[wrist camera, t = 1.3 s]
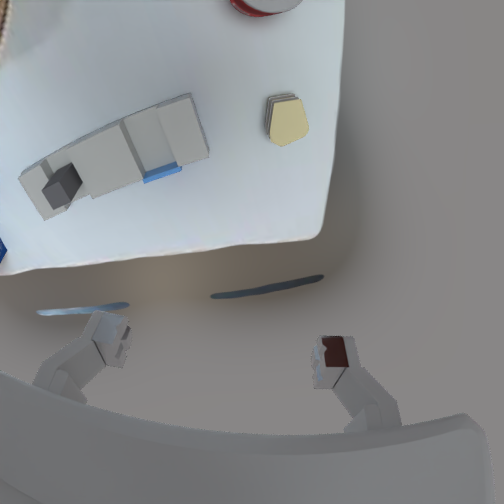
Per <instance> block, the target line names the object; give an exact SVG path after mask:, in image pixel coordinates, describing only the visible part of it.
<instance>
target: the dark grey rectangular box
mask: <svg viewBox="0 0 504 504" xmlns="http://www.w3.org/2000/svg"><path fill="white" fill-rule="evenodd" d="M82 183H83V181H82V180H81V178H80V176H79V174H78V172H77V170H76V169H75V167H74V165H73V163H72V162H71V163H69V164H67V165H65V166H64V167H62V168H60V169H58V170H57V171H56V172H55V173H54V175H53V176H52V177H51V178H50V180H49V181H48V182H47V184H46V185H45V186H44V188H43V189H42V190H41V191H42V193H43V194H44V196H45V198H46V199H47V201H48V202H49V204H50V206H51V207H52V209H53V210H55V209H57V208H59V207H61V206H63V205H65V204H68V203H70V202H71V201H72V200H73V198H74V196H75V194H76V193H77V191H78V189H79V188H80V186H81V185H82Z"/></svg>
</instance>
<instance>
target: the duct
mask: <svg viewBox="0 0 504 504" xmlns="http://www.w3.org/2000/svg"><path fill="white" fill-rule="evenodd" d="M205 158H209V147H208V144H207V141H206V138H205V135H204V132H203V129H202V126H201V123H200V120H199V117H198V114H197V111H196V108H195V105H194V102H193V99H192V96H191V93H188V94H185V95H182V96H179V97H176V98H173V99H171V100H168V101H165V102H162V103H159V104H157V105H154V106H151V107H149V108H146V109H144V110H141V111H139V112H136V113H134V114H131V115H129V116H127V117H124V118H122V119H120V120H117V121H115V122H113V123H111V124H108V125H106V126H104V127H102V128H100V129H98V130H96V131H94V132H92V133H90V134H87V135H85V136H84V137H82V138H80V139H78V140H76V141H74V142H72V143H70V144H68V145H66V146H64V147H63V148H61V149H59V150H57V151H55V152H54V153H52V154H50V155H48V156H47V157H45V158H43V159H42V160H40V161H38V162H37V163H35V164H33V165H32V166H30V167H29V168H27V169H26V170H24V171H23V172H22V173H21V175H20V177H19V178H18V180H19V181H20V183H21V185H22V186H23V188H24V190H25V191H26V193H27V195H28V196H29V198H30V199H31V201H32V202H33V204H34V206H35V207H36V209H37V210H38V212H39V213H40V215H41V216H42V218H43V219H44V221H45V220H47V219H49V218H52V217H54V216H56V215H58V214H60V213H62V212H64V211H67V209H68V207H69V206H70V204H71V202H74V201H76V200H78V199H80V198H83V197H85V196H87V195H89V194H90V195H91V197H92V199H94V198H96V197H99V196H101V195H104V194H106V193H109V192H111V191H114V190H116V189H119V188H121V187H124V186H126V185H129V184H132V183H134V182H137V181H140V180H143V182H144V184H145V183H147V182H150V181H153V180H156V179H159V178H162V177H165V176H168V175H171V174H174V173H177V172H180V171H181V170H182V166H183V165H186V164H189V163H192V162H196V161H199V160H202V159H205ZM71 162H72V163H73V165H74V167H75V169H76V170H77V172H78V174H79V176H80V178H81V180H82V181H83V183H82V185H81V186H80V188H79V189H78V191H77V193H76V194H75V196H74V198H73V200H72V201H71V202H70V203H68V204H65V205H63V206H61V207H59V208H57V209H55V210H53V209H52V207H51V206H50V204H49V202H48V201H47V199H46V198H45V196H44V194H43V193H42V191H41V190H42V189H43V188H44V186H45V185H46V184H47V182H48V181H49V180H50V178H51V177H52V176H53V175H54V173H55V172H56V171H57V170H58V169H60V168H62V167H64V166H65V165H67V164H69V163H71Z"/></svg>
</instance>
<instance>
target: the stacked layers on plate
mask: <svg viewBox="0 0 504 504" xmlns="http://www.w3.org/2000/svg"><path fill="white" fill-rule="evenodd" d="M265 128H266V133H267V134H268V135H269V139H271V142H273V143H275V144H277V145H279V146H281V147H282V146H285V145H287V144H289V143H291V142H294V141H296V140H298V139H300V138H303V137H304V136H305V135H306V134H307V133H308V130H309V125H308V122H307V118H306V115H305V111H304V108H303V104H302V101H301V99H299V98H298V97H295V94H287V95H281V96H275V97H269V102H268V109H267V116H266V123H265Z"/></svg>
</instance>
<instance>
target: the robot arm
mask: <svg viewBox="0 0 504 504" xmlns="http://www.w3.org/2000/svg"><path fill="white" fill-rule="evenodd" d="M128 322H129V321H128V318H127V317H126V316H121V315H116V314H112V313H106V312H102V311H97V310H96V311H94V312H93V314H92V316H91V318H90V320H89V322H88V324H87V326H86V328H85V330H84V332H83V334H82V336H81V338H79V337H78V338H76V339H75V340H73V341H72V342H70V343H69V344H68V345H66V346H65V347H63V348H62V349H60V350H59V351H58V352H56V353H55V354H53V355H52V356H51V357H49V358H48V359H46V360H45V361H43V362H42V364H41V366H40V368H39V370H38V372H37V374H36V377H35V379H34V381H33V383H32V384H29V383H27V382H25V381H23V380H20V379H18V378H16V377H14V376H11V375H9V374H7V373H5V372H3V371H1V370H0V504H495V484H494V473H493V466H492V459H491V453H490V448H489V443H488V439H487V436H486V433H485V431H484V429H483V428H482V427H481V426H480V425H479V424H478V423H477V422H476V421H475V420H474V419H472V418H471V417H470V416H469V415H468V414H466V413H459V414H455V415H452V416H447V417H443V418H439V419H435V420H431V421H426V422H420V423H415V424H410V425H404V426H402V423H401V418H400V413H399V410H398V405H397V401H396V400H395V399H394V398H393V397H392V396H391V395H390V394H389V393H388V392H387V391H386V390H385V389H384V387H383V386H382V385H381V384H380V383H379V382H378V381H377V380H376V379H375V378H374V377H373V376H372V375H371V374H370V373H369V372H368V371H367V370H366V369H365V368H364V367H361V364H360V360H359V356H358V351H357V347H356V343H355V339H354V338H353V336H319V337H318V338H317V345H316V346H315V347H314V348H313V351H312V356H311V364H312V365H311V366H312V368H313V369H314V370H315V372H314V374H313V385H314V389H332V391H333V392H334V393H335V395H336V396H337V397H338V399H339V400H340V402H341V403H342V404H343V406H344V407H345V408H346V410H347V411H348V413H349V414H350V415H351V417H352V418H353V420H352V421H351V422H350V423H349V424H348V425H347V426H346V427H345V428H344V433H336V434H317V435H268V434H247V433H233V432H222V431H213V430H203V429H196V428H189V427H183V426H176V425H171V424H165V423H160V422H155V421H150V420H145V419H140V418H136V417H131V416H127V415H123V414H119V413H115V412H111V411H108V410H104V409H101V408H97V407H94V406H90V405H87V404H86V403H87V398H86V397H85V395H84V394H83V393H82V391H81V389H82V388H83V387H84V386H85V385H86V384H87V383H88V382H90V380H92V379H93V378H94V377H95V376H96V375H97V374H98V373H99V372H100V371H101V370H102V369H103V368H104V367H105V366H106V365H108V366H113V367H118V368H123V366H124V363H125V360H126V357H127V356H126V353H125V351H127V350H128V349H129V348H130V346H131V342H132V331H131V328H130V327H129V326H128V325H127V324H128Z"/></svg>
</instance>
